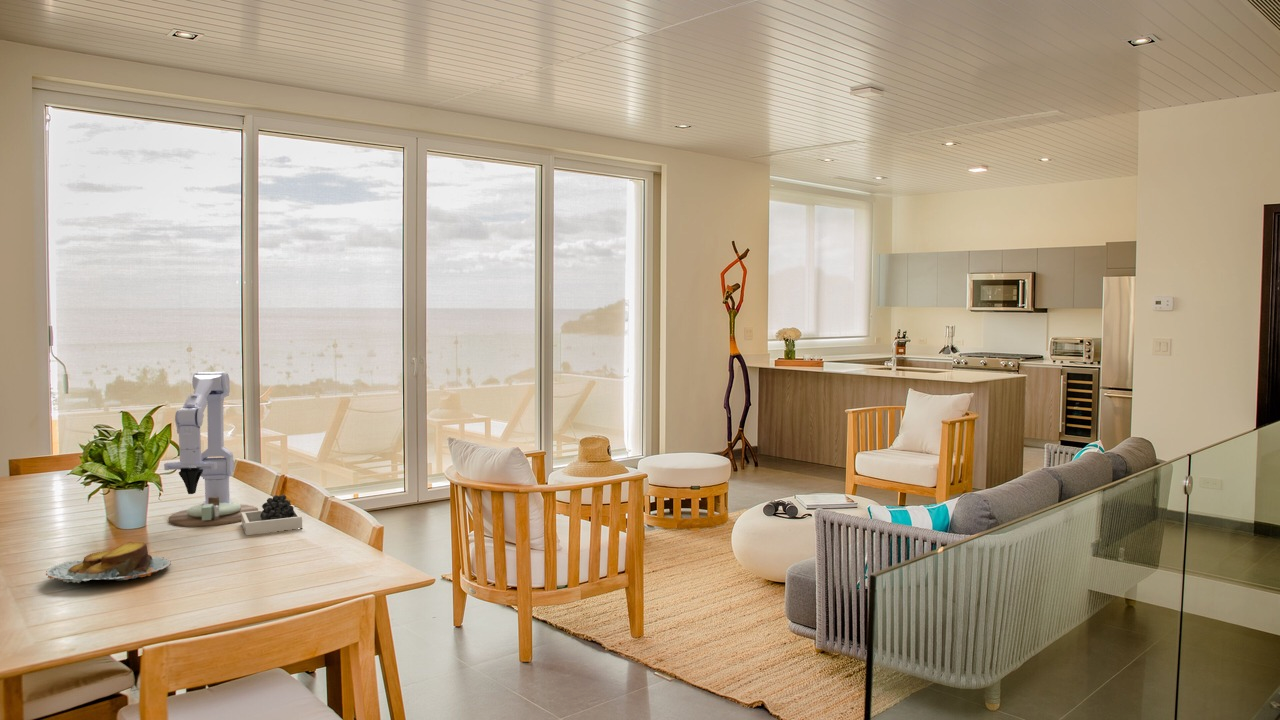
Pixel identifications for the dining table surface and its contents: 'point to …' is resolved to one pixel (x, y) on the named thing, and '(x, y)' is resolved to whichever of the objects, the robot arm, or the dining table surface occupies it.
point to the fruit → (276, 508)
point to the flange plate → (207, 511)
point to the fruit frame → (269, 523)
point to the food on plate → (110, 565)
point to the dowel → (215, 513)
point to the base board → (190, 521)
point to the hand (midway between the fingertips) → (191, 493)
